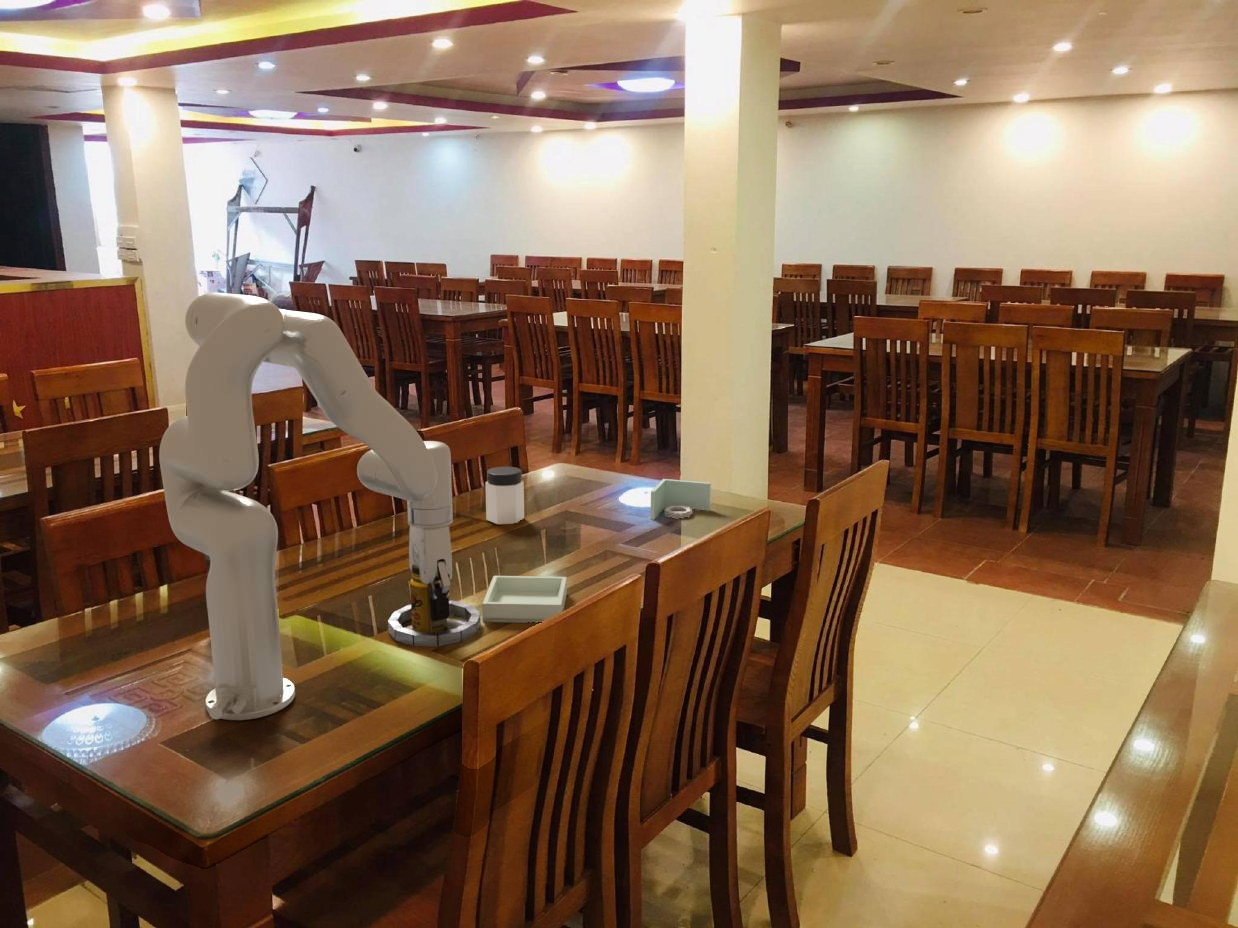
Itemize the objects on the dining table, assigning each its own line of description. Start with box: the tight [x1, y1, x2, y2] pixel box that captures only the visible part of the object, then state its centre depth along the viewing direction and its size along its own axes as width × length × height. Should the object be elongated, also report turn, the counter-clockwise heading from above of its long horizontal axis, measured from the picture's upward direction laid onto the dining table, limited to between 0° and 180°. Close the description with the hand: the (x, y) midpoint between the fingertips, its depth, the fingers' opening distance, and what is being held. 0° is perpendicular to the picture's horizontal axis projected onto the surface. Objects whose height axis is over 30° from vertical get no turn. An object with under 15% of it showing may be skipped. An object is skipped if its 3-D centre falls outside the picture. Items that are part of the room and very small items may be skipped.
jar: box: [485, 466, 525, 525], centre depth 238 cm, size 9×8×12 cm
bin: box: [481, 575, 568, 624], centre depth 186 cm, size 14×14×4 cm
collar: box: [387, 600, 481, 648], centre depth 177 cm, size 16×16×2 cm
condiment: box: [404, 564, 464, 632], centre depth 176 cm, size 7×8×12 cm
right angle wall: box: [650, 478, 712, 521], centre depth 243 cm, size 12×12×8 cm
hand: (433, 611), depth 176 cm, fingers closed on condiment, 6 cm apart
